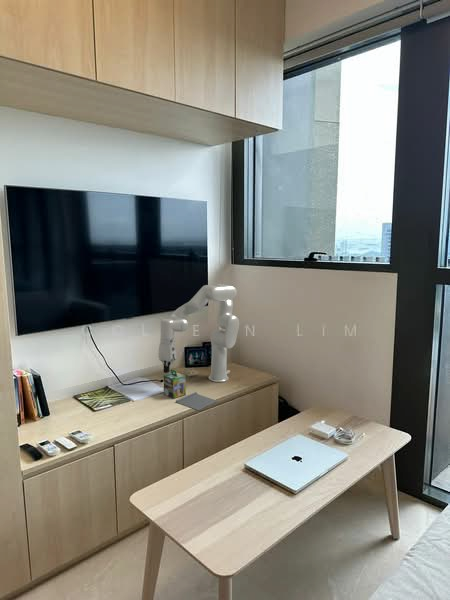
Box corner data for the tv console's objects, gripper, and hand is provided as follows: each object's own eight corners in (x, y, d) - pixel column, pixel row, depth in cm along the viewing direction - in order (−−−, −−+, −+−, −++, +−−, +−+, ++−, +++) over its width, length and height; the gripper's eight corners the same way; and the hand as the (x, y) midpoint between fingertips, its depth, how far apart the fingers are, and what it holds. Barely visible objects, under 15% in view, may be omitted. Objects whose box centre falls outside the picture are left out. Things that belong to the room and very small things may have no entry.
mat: (195, 393, 228) (195, 391, 228) (217, 401, 219) (217, 399, 219) (176, 402, 215) (176, 400, 215) (198, 410, 206) (198, 408, 206)
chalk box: (186, 395, 226) (186, 369, 223) (172, 399, 219) (173, 373, 217) (175, 390, 232) (176, 365, 230) (162, 394, 226) (163, 369, 224)
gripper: (181, 342, 224) (180, 373, 227) (162, 337, 233) (161, 367, 236) (172, 344, 218) (171, 376, 221) (152, 339, 227) (152, 370, 230)
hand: (166, 372), depth 229 cm, fingers closed
